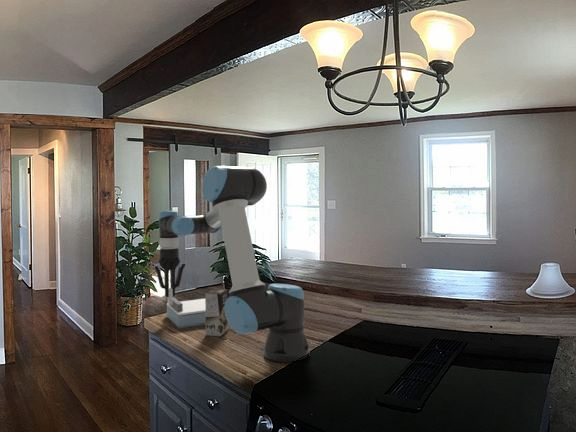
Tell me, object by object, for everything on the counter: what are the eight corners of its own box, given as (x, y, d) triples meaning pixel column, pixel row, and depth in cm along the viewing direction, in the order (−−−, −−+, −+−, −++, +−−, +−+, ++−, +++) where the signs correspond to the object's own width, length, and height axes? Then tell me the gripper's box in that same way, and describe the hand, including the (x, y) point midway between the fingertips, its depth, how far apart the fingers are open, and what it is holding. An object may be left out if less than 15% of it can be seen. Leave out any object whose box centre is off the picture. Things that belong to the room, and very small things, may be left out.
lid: (226, 309, 183) (225, 300, 182) (178, 315, 173) (178, 306, 173) (210, 299, 200) (210, 291, 200) (166, 305, 191) (166, 296, 190)
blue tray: (226, 321, 183) (226, 309, 183) (178, 328, 173) (178, 316, 173) (210, 311, 200) (210, 300, 200) (166, 316, 191) (166, 305, 191)
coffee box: (221, 336, 163) (220, 294, 163) (205, 335, 165) (204, 293, 164) (229, 329, 172) (228, 288, 172) (214, 328, 174) (213, 288, 173)
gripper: (182, 246, 187) (183, 300, 188) (151, 248, 180) (152, 304, 181) (187, 247, 180) (188, 304, 181) (155, 249, 174) (156, 308, 175)
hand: (170, 304), depth 181 cm, fingers closed
